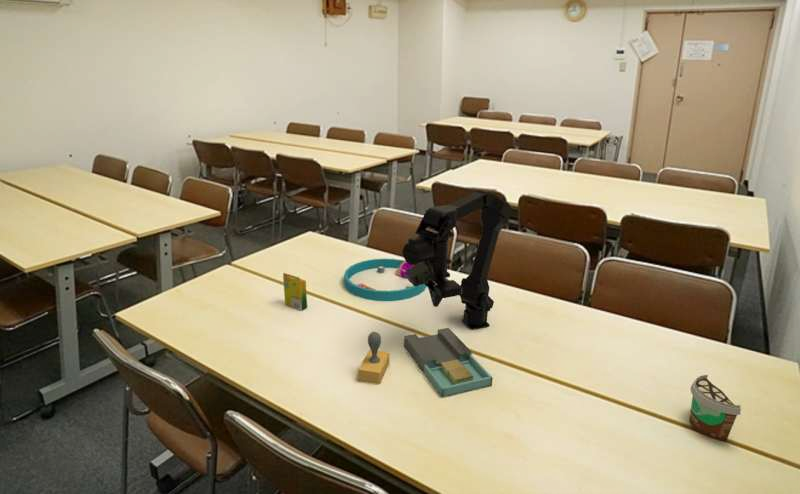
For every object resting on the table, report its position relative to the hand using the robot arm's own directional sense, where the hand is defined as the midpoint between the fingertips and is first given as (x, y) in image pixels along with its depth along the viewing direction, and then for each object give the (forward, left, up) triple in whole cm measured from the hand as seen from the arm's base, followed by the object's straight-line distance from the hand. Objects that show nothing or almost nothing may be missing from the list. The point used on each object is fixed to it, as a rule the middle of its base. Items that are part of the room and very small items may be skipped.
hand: (435, 306), depth 147 cm
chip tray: (+1, +18, -12) cm, 22 cm away
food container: (-42, +53, -13) cm, 69 cm away
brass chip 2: (+1, +19, -12) cm, 22 cm away
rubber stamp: (+21, +7, -13) cm, 25 cm away
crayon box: (+33, -37, -13) cm, 51 cm away
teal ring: (-2, -45, -13) cm, 47 cm away
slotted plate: (+2, +5, -12) cm, 13 cm away
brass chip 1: (+1, +15, -12) cm, 19 cm away
